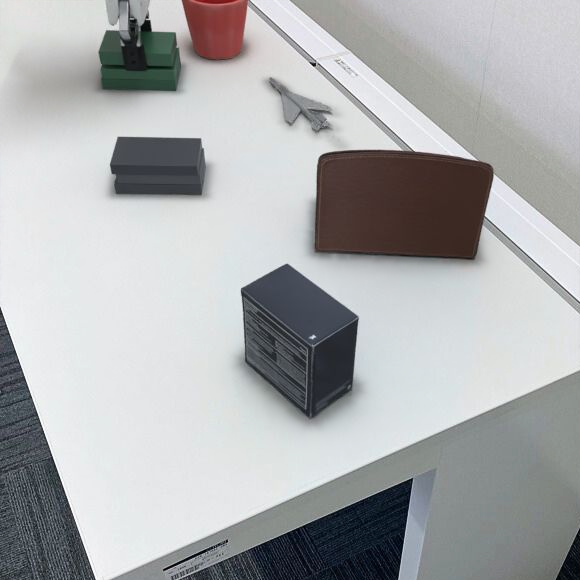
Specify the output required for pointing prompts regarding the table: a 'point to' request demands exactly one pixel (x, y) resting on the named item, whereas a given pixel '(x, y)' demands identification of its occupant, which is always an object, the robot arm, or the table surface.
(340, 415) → the table surface
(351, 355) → the small box
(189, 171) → the grey book stack
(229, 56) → the flower pot
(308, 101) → the toy airplane
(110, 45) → the green book
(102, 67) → the green book stack
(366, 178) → the letter holder
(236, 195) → the table surface
